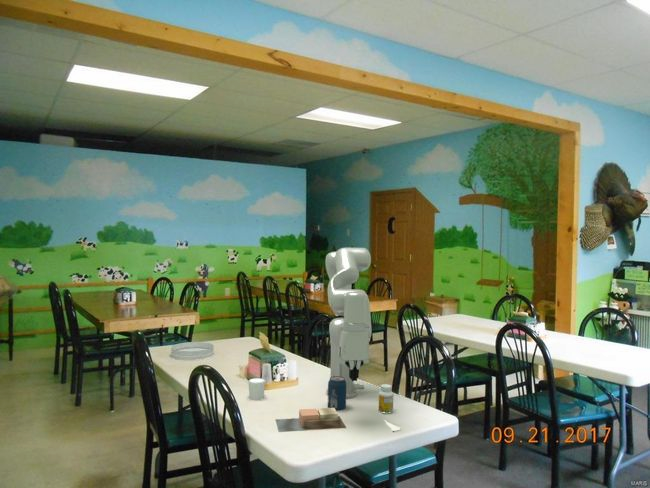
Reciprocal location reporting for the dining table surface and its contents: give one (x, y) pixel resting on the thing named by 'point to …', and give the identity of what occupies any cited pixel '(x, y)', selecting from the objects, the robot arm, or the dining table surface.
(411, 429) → the dining table surface
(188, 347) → the dish
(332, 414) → the beech block
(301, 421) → the terracotta block
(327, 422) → the chute
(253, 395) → the shot glass
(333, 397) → the soda can
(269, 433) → the dining table surface
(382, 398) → the supplement bottle
